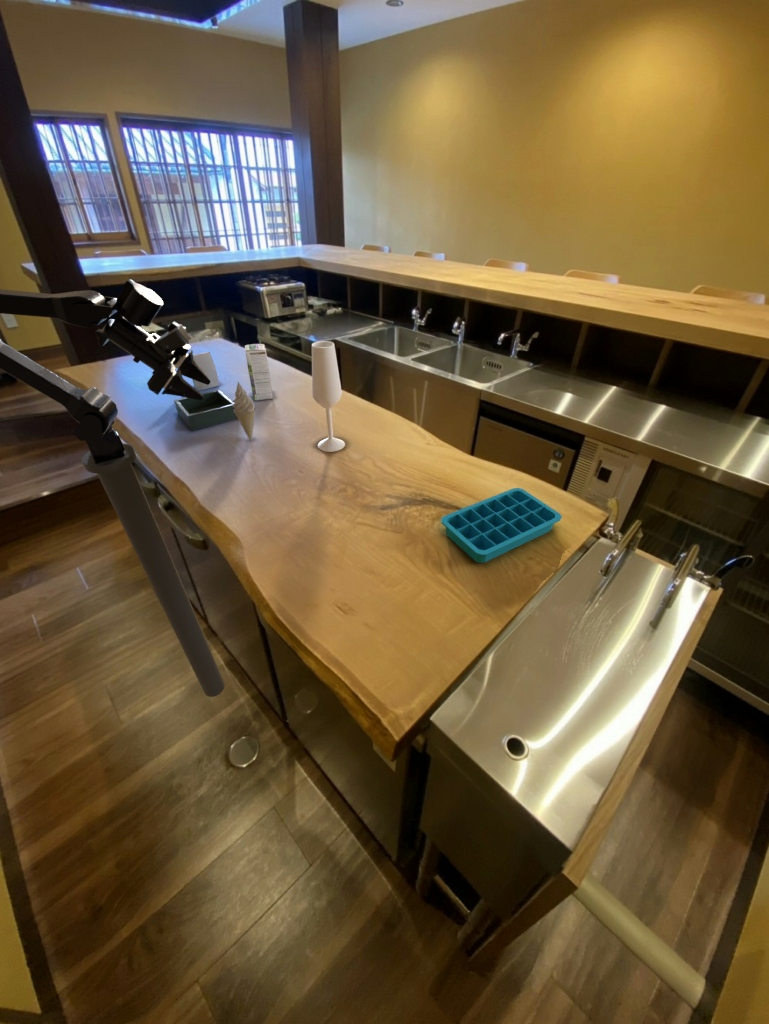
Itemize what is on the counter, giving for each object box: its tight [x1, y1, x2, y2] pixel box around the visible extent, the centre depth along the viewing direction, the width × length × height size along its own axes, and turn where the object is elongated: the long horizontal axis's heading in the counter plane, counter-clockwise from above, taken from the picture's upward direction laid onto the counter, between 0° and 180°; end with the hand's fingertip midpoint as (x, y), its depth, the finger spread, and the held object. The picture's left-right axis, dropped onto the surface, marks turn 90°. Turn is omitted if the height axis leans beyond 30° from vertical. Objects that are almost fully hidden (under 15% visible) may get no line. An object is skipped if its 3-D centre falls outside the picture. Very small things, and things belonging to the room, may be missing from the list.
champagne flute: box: [311, 340, 346, 453], centre depth 97 cm, size 7×7×24 cm
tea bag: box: [191, 351, 221, 391], centre depth 131 cm, size 4×7×10 cm, turn 129°
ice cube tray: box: [440, 487, 563, 564], centre depth 78 cm, size 12×20×3 cm, turn 121°
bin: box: [173, 389, 238, 432], centre depth 115 cm, size 13×13×4 cm
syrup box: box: [244, 343, 274, 401], centre depth 123 cm, size 6×6×14 cm
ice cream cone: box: [232, 381, 256, 442], centre depth 101 cm, size 5×5×15 cm
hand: (206, 390), depth 97 cm, fingers open, 9 cm apart
